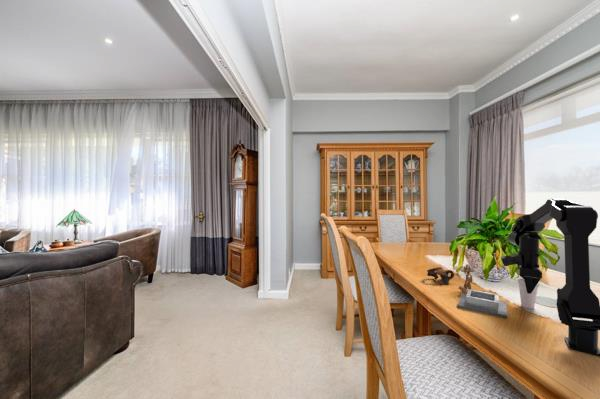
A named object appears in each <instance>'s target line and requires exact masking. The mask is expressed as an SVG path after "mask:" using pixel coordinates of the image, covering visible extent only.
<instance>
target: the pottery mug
mask: <svg viewBox="0 0 600 399" xmlns="http://www.w3.org/2000/svg"><path fill="white" fill-rule="evenodd" d="M426 272H427V274H426V275H427V276H428V277H433V278H434V279H435V280H436V279H437V284H438V285H439V286H440V285H448V284H450V281H451V280H452V279H454V277H455V273H454V271H453V270H451V269H447V270H445V269H443V267H442V266H437V267H433V268H429V269H428V270H426ZM449 274H450V275H449ZM439 277H440V279H439Z"/></svg>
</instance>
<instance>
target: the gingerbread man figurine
mask: <svg viewBox="0 0 600 399" xmlns="http://www.w3.org/2000/svg"><path fill="white" fill-rule="evenodd" d="M463 273H464V276H465V281H464V284H463V285H459V286H458V287H459V289H460V290H461V291H462V293H464V294H467V292H468V289H471V290H473V288H472V285H471V283H473V276H472V273H471V265H470V264H468V263H467V264H466V265H465V266H463Z"/></svg>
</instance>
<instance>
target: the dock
mask: <svg viewBox="0 0 600 399" xmlns="http://www.w3.org/2000/svg"><path fill="white" fill-rule="evenodd" d="M471 289H472V288H471ZM471 289H468V292H467V294H466V293H465V292H462V293H461V294H460V297H459V300H458V302H457V308H459V309H464V310H468V311H473V312H475V313H481V314H485V315H490V316H494V317H499V318H503V319H508V306H507V303H508V302H507V301H505V300H499V296H500V295H499V294H498V293H492V292H485V291H481V290H475V289H472V290H471Z"/></svg>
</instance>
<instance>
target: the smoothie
mask: <svg viewBox="0 0 600 399" xmlns="http://www.w3.org/2000/svg"><path fill="white" fill-rule="evenodd" d="M517 284H518V289H519V296H520V304H521V305H520V306H521V307H522V308H526V309H531V310H532V309H534V308H535V304H536V300H537V294H538V288H539V287H540V282H538V284H537V285H536V287H535V288H534V290H533V291H532V293H531V294H529V293H527V290H526V285H525V281H524V279H523V278H518V279H517Z"/></svg>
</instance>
